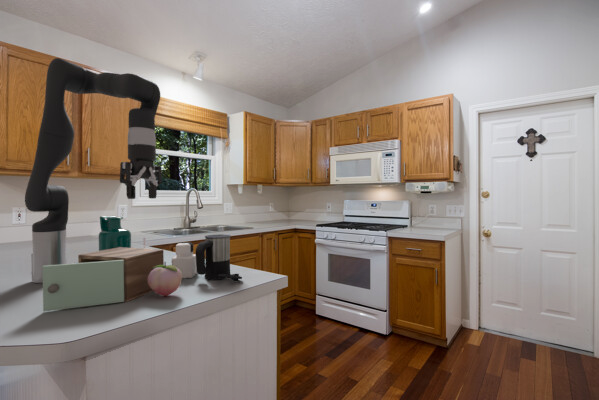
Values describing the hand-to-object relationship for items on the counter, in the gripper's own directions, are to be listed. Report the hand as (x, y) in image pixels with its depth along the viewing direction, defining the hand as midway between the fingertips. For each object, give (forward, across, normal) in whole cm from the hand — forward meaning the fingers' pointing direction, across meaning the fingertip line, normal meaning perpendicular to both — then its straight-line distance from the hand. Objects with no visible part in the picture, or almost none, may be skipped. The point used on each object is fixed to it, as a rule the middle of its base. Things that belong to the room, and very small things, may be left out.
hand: (142, 198), depth 93 cm
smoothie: (+29, -16, -13) cm, 35 cm away
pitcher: (+29, -12, -23) cm, 39 cm away
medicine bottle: (+28, -20, +1) cm, 35 cm away
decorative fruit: (+28, +2, +10) cm, 30 cm away
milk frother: (+28, -19, +17) cm, 38 cm away
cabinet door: (+28, +15, -5) cm, 32 cm away
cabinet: (+28, +1, -6) cm, 29 cm away
